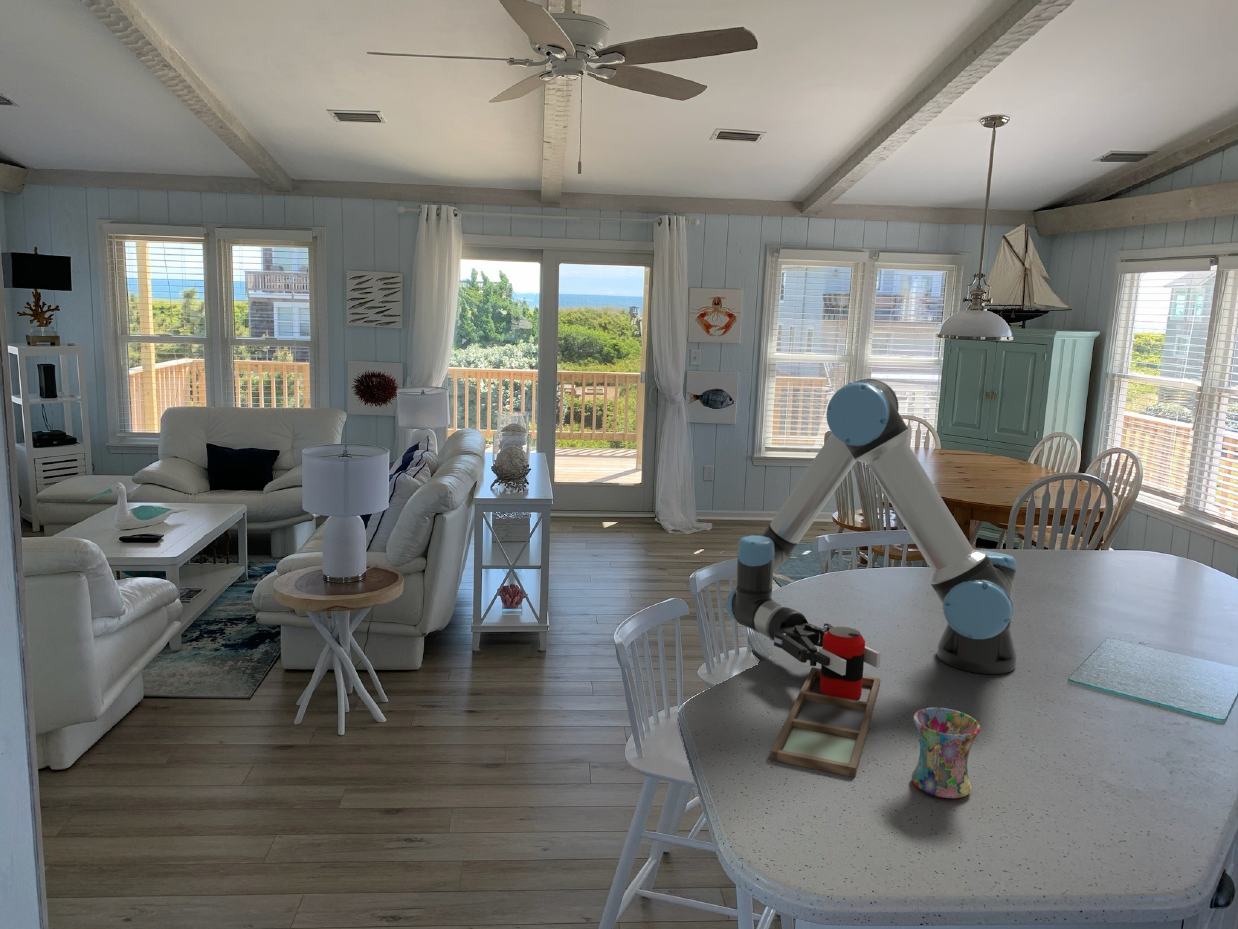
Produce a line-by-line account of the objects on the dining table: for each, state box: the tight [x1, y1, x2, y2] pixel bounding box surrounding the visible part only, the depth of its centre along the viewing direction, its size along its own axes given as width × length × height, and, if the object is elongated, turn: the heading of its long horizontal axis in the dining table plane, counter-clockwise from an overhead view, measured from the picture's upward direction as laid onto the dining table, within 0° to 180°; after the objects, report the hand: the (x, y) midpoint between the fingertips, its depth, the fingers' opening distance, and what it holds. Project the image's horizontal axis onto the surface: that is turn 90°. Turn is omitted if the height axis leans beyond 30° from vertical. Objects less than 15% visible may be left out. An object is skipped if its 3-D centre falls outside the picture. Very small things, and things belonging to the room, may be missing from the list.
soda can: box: [819, 626, 866, 700], centre depth 163 cm, size 8×8×12 cm
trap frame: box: [770, 666, 881, 778], centre depth 153 cm, size 13×37×2 cm, turn 158°
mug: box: [911, 707, 981, 799], centre depth 130 cm, size 12×9×11 cm
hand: (861, 664), depth 159 cm, fingers closed on soda can, 7 cm apart
